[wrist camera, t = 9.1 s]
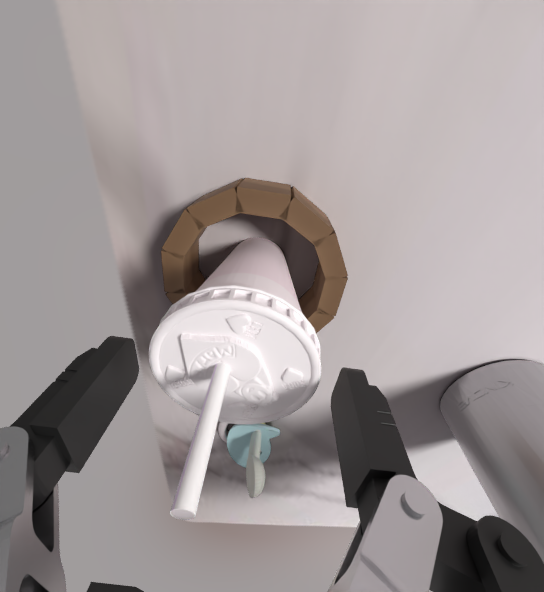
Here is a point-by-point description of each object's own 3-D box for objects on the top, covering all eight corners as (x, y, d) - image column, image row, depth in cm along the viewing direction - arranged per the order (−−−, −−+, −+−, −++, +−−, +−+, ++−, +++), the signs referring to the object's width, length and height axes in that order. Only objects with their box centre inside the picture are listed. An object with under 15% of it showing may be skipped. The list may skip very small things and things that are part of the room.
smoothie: (258, 193, 16) (167, 386, 4) (325, 266, 18) (406, 536, 6) (191, 260, 18) (5, 509, 6) (258, 318, 20) (218, 582, 8)
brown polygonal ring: (370, 252, 17) (384, 273, 15) (271, 345, 22) (269, 373, 19) (237, 137, 14) (226, 138, 12) (154, 273, 19) (133, 295, 16)
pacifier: (214, 437, 30) (266, 449, 30) (196, 503, 24) (260, 517, 25) (226, 396, 26) (285, 410, 26) (208, 464, 20) (282, 481, 21)
